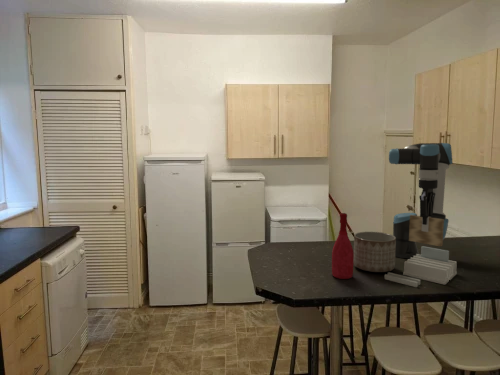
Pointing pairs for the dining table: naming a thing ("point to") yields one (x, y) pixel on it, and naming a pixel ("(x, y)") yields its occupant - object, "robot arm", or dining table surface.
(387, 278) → the board stand
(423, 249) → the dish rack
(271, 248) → the dining table surface
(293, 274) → the dining table surface
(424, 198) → the robot arm
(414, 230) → the oak board
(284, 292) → the dining table surface
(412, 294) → the dining table surface
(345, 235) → the wine bottle
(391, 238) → the planter
